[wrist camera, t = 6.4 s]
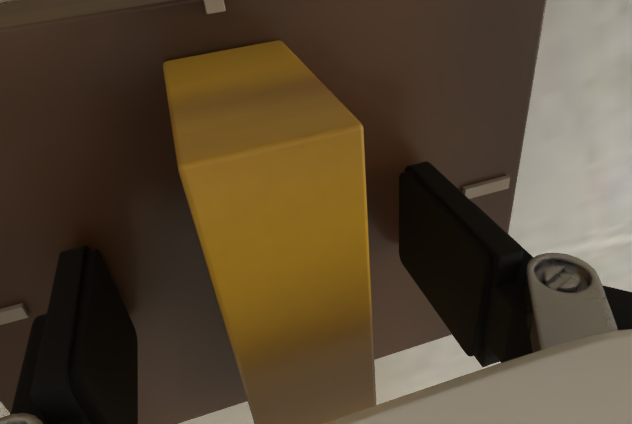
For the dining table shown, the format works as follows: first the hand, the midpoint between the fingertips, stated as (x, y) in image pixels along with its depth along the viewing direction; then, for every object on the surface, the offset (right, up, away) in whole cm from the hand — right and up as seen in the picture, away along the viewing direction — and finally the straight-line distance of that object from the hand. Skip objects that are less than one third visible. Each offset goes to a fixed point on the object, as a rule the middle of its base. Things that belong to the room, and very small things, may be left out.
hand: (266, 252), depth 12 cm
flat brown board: (-1, +2, +3) cm, 3 cm away
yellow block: (0, 0, 0) cm, 0 cm away
